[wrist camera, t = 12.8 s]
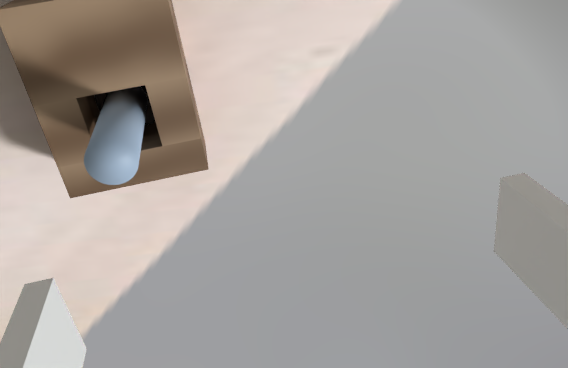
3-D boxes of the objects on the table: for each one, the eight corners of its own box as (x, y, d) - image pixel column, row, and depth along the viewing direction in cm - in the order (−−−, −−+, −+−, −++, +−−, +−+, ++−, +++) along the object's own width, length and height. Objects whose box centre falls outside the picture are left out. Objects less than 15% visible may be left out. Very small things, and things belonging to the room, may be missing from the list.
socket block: (17, -2, 34) (-7, 10, 29) (165, -27, 35) (163, -19, 30) (81, 167, 40) (70, 198, 36) (204, 142, 41) (208, 169, 37)
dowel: (119, 73, 37) (100, 128, 28) (155, 95, 38) (148, 155, 29) (99, 105, 38) (74, 169, 28) (134, 125, 39) (121, 193, 30)
